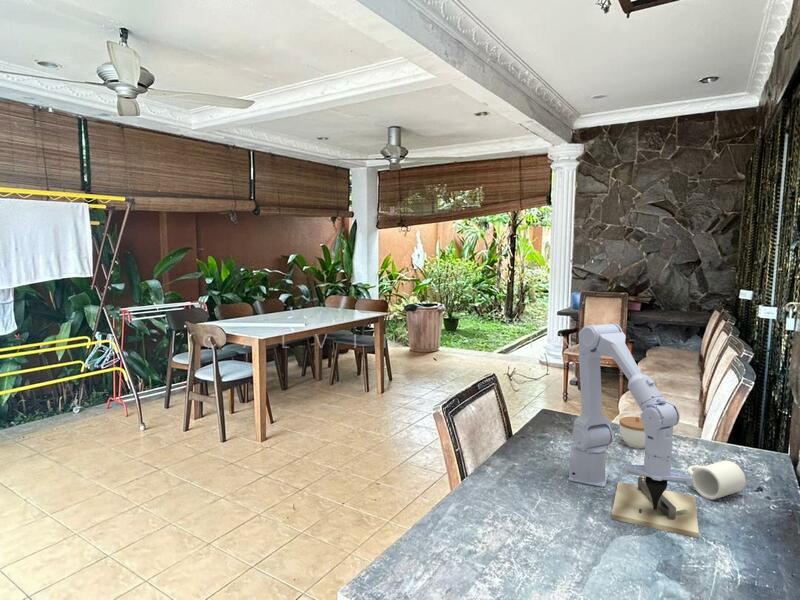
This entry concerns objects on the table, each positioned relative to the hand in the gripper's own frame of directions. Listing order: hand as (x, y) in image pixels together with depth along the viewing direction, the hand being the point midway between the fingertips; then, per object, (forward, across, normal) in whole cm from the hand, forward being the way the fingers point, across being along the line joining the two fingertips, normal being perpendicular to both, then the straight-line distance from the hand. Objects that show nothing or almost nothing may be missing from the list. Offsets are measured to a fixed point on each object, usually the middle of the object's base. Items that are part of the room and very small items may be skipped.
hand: (655, 507), depth 123 cm
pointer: (+1, 0, +5) cm, 5 cm away
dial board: (+2, 0, +3) cm, 4 cm away
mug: (+2, +13, +21) cm, 25 cm away
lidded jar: (+3, -6, +47) cm, 47 cm away
